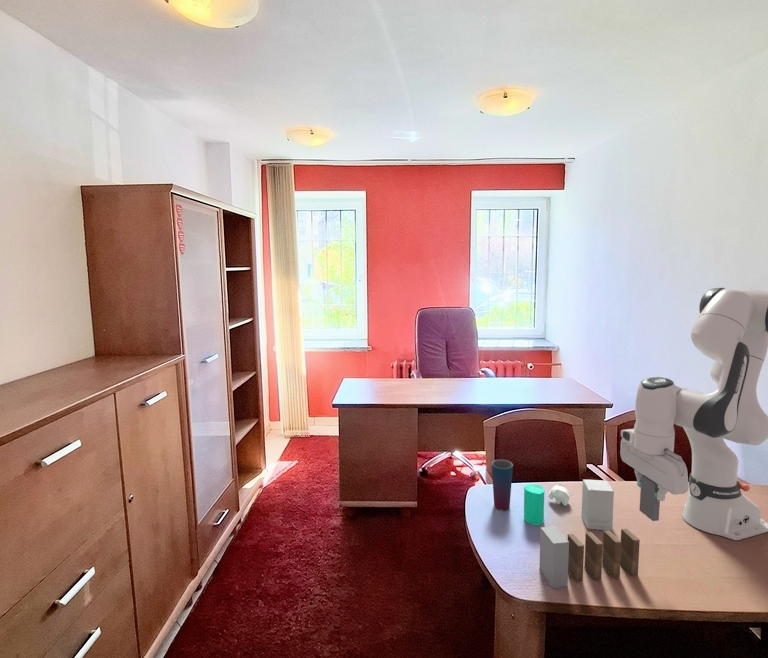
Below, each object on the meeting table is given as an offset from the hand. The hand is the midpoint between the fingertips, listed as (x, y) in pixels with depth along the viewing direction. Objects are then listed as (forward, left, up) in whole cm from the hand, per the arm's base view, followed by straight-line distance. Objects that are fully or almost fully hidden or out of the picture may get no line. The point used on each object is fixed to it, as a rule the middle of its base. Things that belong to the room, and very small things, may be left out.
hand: (650, 493), depth 115 cm
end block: (+26, 0, -21) cm, 33 cm away
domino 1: (+20, 0, -21) cm, 29 cm away
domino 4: (+5, 0, -21) cm, 21 cm away
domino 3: (+10, 0, -21) cm, 23 cm away
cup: (+26, -35, -21) cm, 48 cm away
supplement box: (+1, -21, -21) cm, 30 cm away
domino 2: (+15, 0, -21) cm, 26 cm away
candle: (+19, -26, -21) cm, 39 cm away
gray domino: (0, 0, -6) cm, 6 cm away
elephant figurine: (+6, -34, -21) cm, 40 cm away
